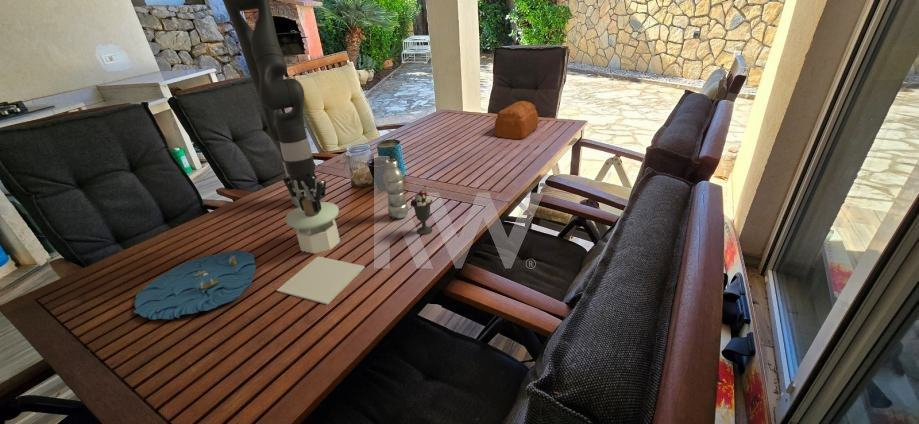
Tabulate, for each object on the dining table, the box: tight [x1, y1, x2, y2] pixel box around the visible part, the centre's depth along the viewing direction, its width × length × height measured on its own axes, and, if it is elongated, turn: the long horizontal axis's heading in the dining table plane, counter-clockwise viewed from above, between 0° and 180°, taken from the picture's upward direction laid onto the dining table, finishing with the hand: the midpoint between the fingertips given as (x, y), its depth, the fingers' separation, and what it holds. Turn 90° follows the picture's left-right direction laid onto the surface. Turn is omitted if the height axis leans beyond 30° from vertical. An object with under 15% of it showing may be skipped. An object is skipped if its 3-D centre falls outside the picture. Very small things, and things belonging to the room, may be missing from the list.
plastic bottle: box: [382, 158, 409, 220], centre depth 130 cm, size 6×7×20 cm
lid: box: [285, 197, 340, 230], centre depth 117 cm, size 15×15×6 cm
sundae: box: [410, 185, 433, 235], centre depth 122 cm, size 7×7×15 cm
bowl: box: [295, 218, 341, 254], centre depth 121 cm, size 11×12×6 cm
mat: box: [276, 255, 366, 306], centre depth 105 cm, size 16×16×1 cm
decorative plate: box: [133, 249, 257, 320], centre depth 105 cm, size 30×30×5 cm
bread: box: [494, 100, 539, 140], centre depth 210 cm, size 17×24×15 cm
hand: (311, 210), depth 117 cm, fingers closed on lid, 4 cm apart
